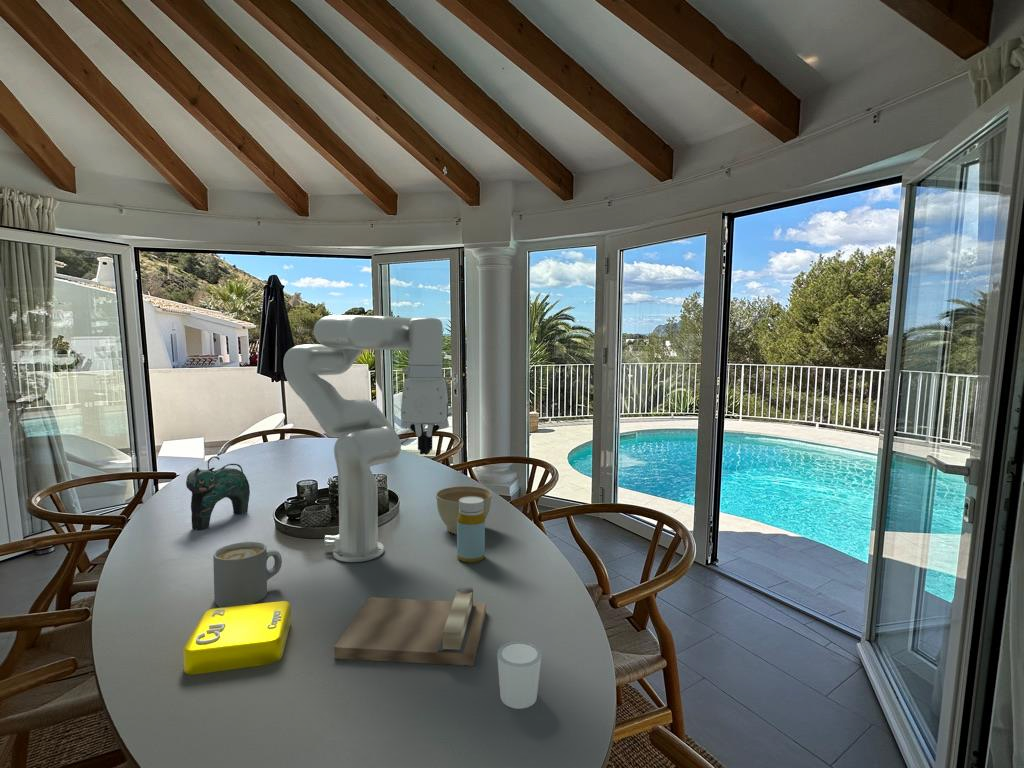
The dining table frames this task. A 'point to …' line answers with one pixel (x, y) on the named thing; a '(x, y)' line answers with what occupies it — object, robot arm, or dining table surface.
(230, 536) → the dining table surface
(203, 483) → the ceramic cat
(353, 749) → the dining table surface
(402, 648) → the stool seat
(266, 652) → the element tile
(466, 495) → the planter bowl
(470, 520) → the bottle
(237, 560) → the coffee mug
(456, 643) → the folding leg
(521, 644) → the shot glass
